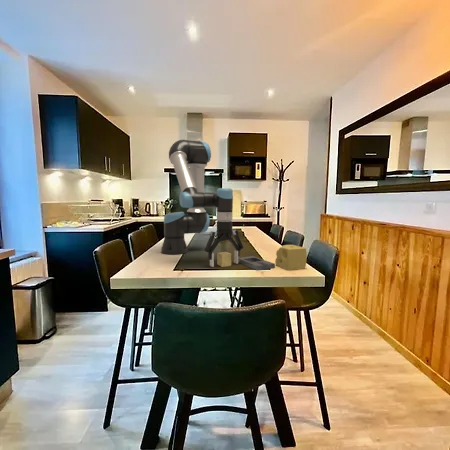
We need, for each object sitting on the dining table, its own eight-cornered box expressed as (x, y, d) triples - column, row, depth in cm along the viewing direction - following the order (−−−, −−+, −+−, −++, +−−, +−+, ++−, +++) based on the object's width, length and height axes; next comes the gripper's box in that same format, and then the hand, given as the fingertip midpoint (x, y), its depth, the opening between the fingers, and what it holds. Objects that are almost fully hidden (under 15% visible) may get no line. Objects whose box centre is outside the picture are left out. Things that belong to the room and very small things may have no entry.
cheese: (275, 265, 135) (275, 245, 134) (293, 263, 140) (294, 244, 138) (287, 271, 126) (288, 249, 125) (307, 268, 130) (307, 247, 129)
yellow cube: (217, 264, 136) (217, 252, 135) (226, 263, 138) (226, 251, 138) (221, 267, 132) (222, 254, 131) (231, 265, 134) (231, 253, 133)
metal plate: (236, 261, 142) (237, 257, 142) (253, 259, 146) (253, 255, 146) (257, 270, 126) (257, 265, 126) (274, 267, 131) (274, 263, 130)
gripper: (204, 222, 123) (203, 269, 126) (250, 220, 135) (249, 263, 137) (197, 221, 130) (197, 265, 132) (242, 219, 142) (241, 260, 144)
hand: (224, 264), depth 135 cm, fingers open, 13 cm apart
